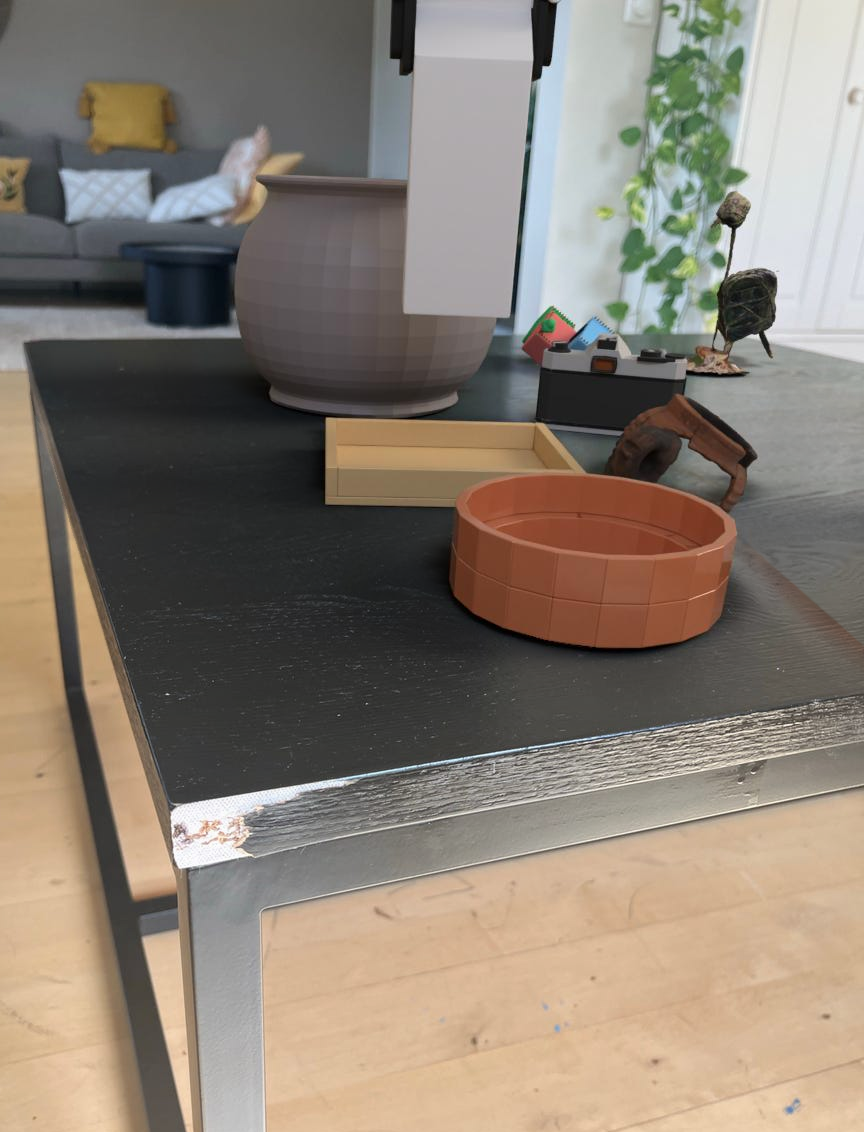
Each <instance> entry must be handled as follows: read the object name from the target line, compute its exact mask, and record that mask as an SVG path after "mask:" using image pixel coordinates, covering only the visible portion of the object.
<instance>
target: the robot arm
mask: <svg viewBox="0 0 864 1132" xmlns="http://www.w3.org/2000/svg"><path fill="white" fill-rule="evenodd" d="M561 1H562V0H532V7H531V21H532V43H533V66H532V77H531V83H534V82H536V81H538V80H541V79H542V75H543V69H544V67H545V68H547V67H550V66H551V64H552V61H553V52H554V43H555V33H556V22H557V21H556V20H557V10H558V4H559V3H560V2H561ZM390 2H391V3H390V4H391V5H390V33H389V59H390V60H399V69H398V75H399V76H402V77H408V76H409V75H412V71H413V69H414V54H415V29H416V8H417V0H390Z"/></svg>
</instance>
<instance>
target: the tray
mask: <svg viewBox="0 0 864 1132" xmlns="http://www.w3.org/2000/svg"><path fill="white" fill-rule="evenodd" d="M324 445H325V447H324V450H325V451H324V456H325V457H324V462H325V464H324V466H325V467H324V468H325V469H324V484H325V486H324V488H325V489H324V492H325V493H324V500H325V502H324V504H325V505H326V506H327V505H328V506H369V507H370V506H371V507H373V506H375V507H378V506H379V507H380V506H381V507H425V508H426V507H428V508H454V506H455V501H456V499H457V498H458V496H459V495H460V493H461V492H462V491H463V490H464V489H466V488H468V487H470V486H472V485H474V484H476V483H479V482H481V481H483V480H488V479H493V478H497V477H502V476H507V475H515V474H528V473H542V472H544V473H545V472H558V473H587V472H586V471H585V470H584V468H583V467H582V466H581V465H580V464H579V463H578V461H577V460H576V459H575V458H574V457H573V455H572V454H571V453H570V452H569V451H568V450H567V448H565V446H564V445H563V444H562V443H561V442H560V441H559V439H558V438H557V437H556V436H555V434H553V432H552V431H551V429H548V428H547V427H546V426H545V424H544V423H536V422H510V421H473V420H471V421H470V420H469V421H468V420H432V419H398V418H385V419H374V418H352V417H325V443H324Z"/></svg>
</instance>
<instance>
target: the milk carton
mask: <svg viewBox="0 0 864 1132" xmlns="http://www.w3.org/2000/svg"><path fill="white" fill-rule="evenodd" d="M532 7H533V0H417V8H416V29H415V54H414V69H413V71H412V73H411V90H410V91H411V92H410V114H409V135H408V136H409V138H408V157H407V158H408V159H407V178H406V180H407V200H406V222H405V244H404V267H403V289H402V304H403V313H404V314H418V315H441V316H464V317H488V318H497V319H509V318H510V317H511V312H512V311H511V310H512V300H513V288H514V287H513V286H514V277H515V265H516V257H517V256H516V254H517V243H518V232H519V221H520V211H521V210H520V209H521V198H522V189H523V188H522V187H523V177H524V165H525V154H526V145H527V144H526V143H527V132H528V131H527V130H528V120H529V111H530V110H529V109H530V101H531V99H530V98H531V87H532V82H531V77H532V66H533V43H532V21H531V8H532Z"/></svg>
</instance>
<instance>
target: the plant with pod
mask: <svg viewBox="0 0 864 1132" xmlns="http://www.w3.org/2000/svg"><path fill="white" fill-rule="evenodd" d="M751 207H752V204H751V201H750V200H749V199H748V198H747V197H746V196H743V195H742V194H741V193H739V192H738V191H737V190H733V191H729V192H728V193H727V195H725V199H724V200H723V202H722V203H721V204H720V205H719V207H718V209H717V211H716V213H715V216H716V219H715V220H713V223H712V224H711V225H710V228H711V229H714V228H716V227H717V225H722V226H727V227H728V228H730V230H731V231H730V241H729V252H728V258H727V264H726V270H725V272H724V277H723V280H722V281H721V282H720V285H719V287H718V291H717V292H716V297H717V320H716V322H715V330H714V334H713V337H712V343H711V347H709V346H705V345H700V344H697V346H696V347H695V348H694V349H695V350H694V351H695V354H693V355H692V356H689V357H685V358H686V360H687V367H686V371H688V372H694V373H702V372H704V373H714V374H716V373H717V374H718V375H723V374H726V375H733V374H742V375H743V374H744V375H749V374H751V373H750V371H745V370H743V368H741V367H740V366H739V365H736V363H735V362H734V361H729V358H730V353H731V351H732V348H733V346H734V343H736V342H738V341H740V340H743V339H745V338H747V337H749V336H752V335H753V336H758V337H759V340H760V342H761V344H762V347H763V349H764V350H765V352H766V354H767V355H768V358H770V359H773V358H774V354H773V353H774V352H773V350H772V348H771V344H770V343H769V340H768V337H767V334H765V331H767V330H769V329H770V328H771V327H773V324H774V323H775V321H776V318H777V315H776V312H777V305H776V297H777V293H778V288H779V287H778V277H777V275H776V273H777V272H779V270H776V273H775V271H773V270H770V269H768V268H765V267H755V268H754V267H753V268H750V269H746V270H739V271H737V272H736V273H731V274H730V273H729V272H730V270H731V266H732V261H733V253H734V252H733V250H734V244H735V242H736V237H737V229H738V228H740V227H742V225H743V224H744V222H745V221H746V219H747V215H748V214H749V212H750V210H751ZM718 333H720V335H721V336H722V338H723V341H724V346H723V350H721V349H718V348H715V340H716V338H717V334H718Z"/></svg>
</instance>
